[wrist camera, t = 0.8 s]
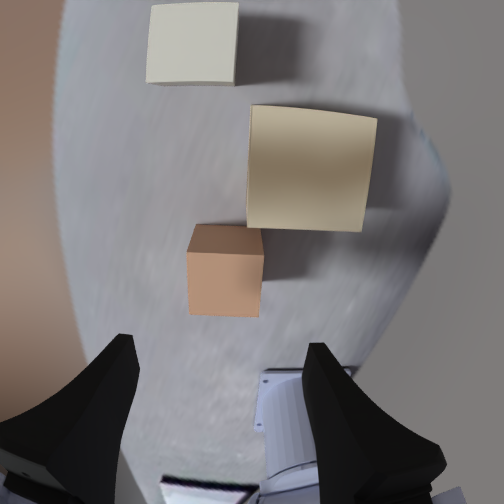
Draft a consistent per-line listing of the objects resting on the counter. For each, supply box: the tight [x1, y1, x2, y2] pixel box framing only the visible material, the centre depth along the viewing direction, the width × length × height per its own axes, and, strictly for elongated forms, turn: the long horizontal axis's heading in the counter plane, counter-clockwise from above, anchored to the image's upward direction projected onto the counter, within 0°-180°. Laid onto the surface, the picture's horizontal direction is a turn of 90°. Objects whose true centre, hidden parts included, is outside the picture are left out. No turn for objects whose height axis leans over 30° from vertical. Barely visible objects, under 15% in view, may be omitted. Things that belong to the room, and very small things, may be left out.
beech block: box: [246, 105, 377, 232], centre depth 17 cm, size 6×6×4 cm
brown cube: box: [187, 224, 264, 317], centre depth 19 cm, size 4×4×4 cm
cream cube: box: [146, 2, 239, 86], centre depth 14 cm, size 4×4×4 cm
